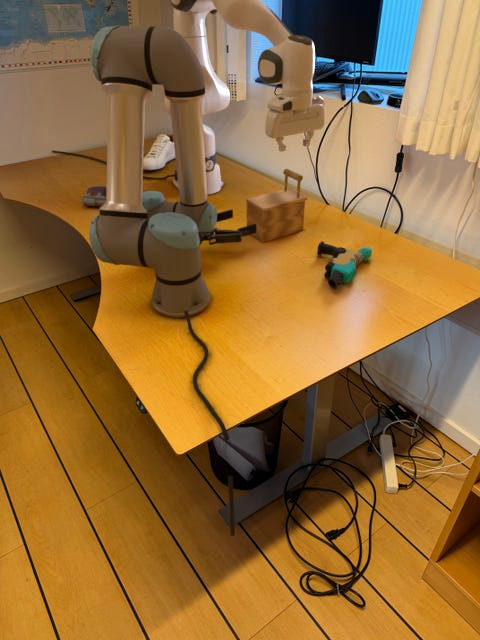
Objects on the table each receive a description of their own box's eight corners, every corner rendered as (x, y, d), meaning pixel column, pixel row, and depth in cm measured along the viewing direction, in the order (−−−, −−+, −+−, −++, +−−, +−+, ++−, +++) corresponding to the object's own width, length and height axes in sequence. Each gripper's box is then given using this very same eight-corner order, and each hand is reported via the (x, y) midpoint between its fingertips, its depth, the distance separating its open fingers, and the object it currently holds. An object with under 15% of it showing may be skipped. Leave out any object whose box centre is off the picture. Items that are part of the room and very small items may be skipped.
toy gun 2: (295, 270, 129) (349, 283, 123) (327, 233, 148) (374, 243, 142) (294, 284, 132) (346, 297, 126) (325, 246, 150) (372, 256, 145)
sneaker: (133, 173, 208) (129, 144, 201) (161, 153, 230) (158, 127, 223) (155, 175, 205) (151, 146, 198) (180, 155, 227) (178, 129, 220)
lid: (288, 190, 161) (290, 166, 156) (307, 199, 154) (308, 174, 150) (246, 201, 154) (246, 176, 149) (263, 211, 147) (263, 185, 142)
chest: (285, 220, 167) (287, 191, 161) (303, 229, 160) (305, 200, 154) (246, 231, 160) (246, 201, 154) (262, 242, 153) (263, 211, 147)
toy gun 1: (138, 196, 186) (123, 211, 174) (94, 193, 189) (76, 208, 177) (137, 186, 184) (121, 201, 172) (92, 183, 187) (74, 198, 175)
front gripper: (168, 233, 154) (223, 218, 163) (206, 265, 137) (266, 245, 146) (165, 211, 150) (222, 197, 159) (205, 241, 133) (266, 223, 142)
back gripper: (317, 94, 146) (313, 140, 154) (262, 102, 137) (261, 151, 145) (331, 97, 142) (326, 145, 150) (275, 106, 133) (273, 156, 141)
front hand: (243, 220), depth 153 cm, fingers open, 13 cm apart
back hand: (294, 148), depth 147 cm, fingers open, 8 cm apart
